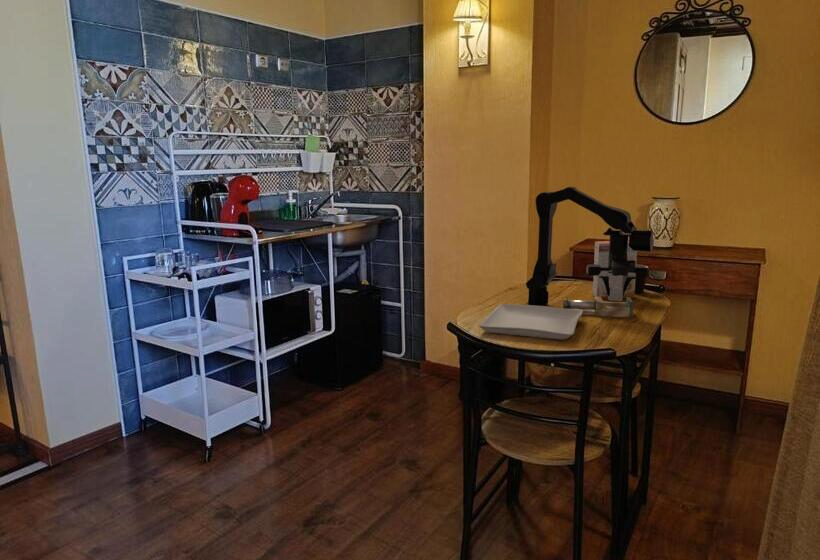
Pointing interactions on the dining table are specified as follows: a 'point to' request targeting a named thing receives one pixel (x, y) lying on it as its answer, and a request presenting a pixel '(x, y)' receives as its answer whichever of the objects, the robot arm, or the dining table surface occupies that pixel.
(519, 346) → the dining table surface
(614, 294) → the block
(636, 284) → the coffee mug
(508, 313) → the square plate
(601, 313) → the bearing bed
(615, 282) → the cracker box
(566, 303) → the shaft
